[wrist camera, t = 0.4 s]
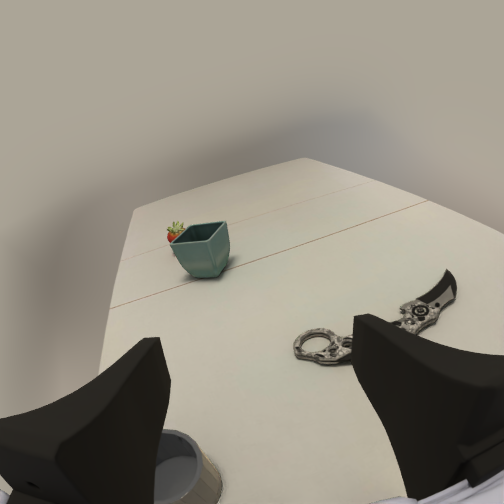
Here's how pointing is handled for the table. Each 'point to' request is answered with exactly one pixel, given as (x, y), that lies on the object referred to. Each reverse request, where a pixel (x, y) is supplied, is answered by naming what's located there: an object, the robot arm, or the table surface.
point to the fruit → (175, 231)
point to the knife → (413, 321)
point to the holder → (184, 472)
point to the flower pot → (203, 249)
